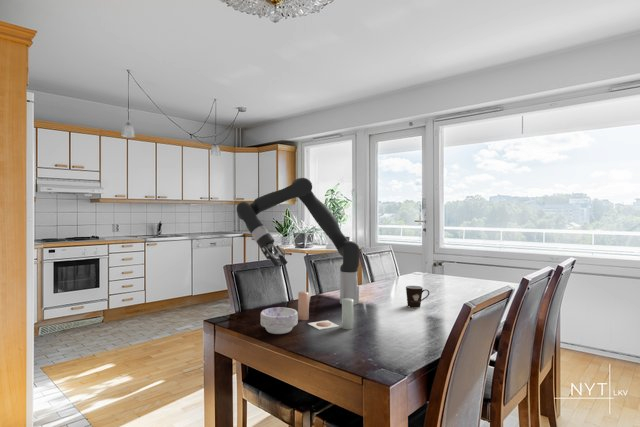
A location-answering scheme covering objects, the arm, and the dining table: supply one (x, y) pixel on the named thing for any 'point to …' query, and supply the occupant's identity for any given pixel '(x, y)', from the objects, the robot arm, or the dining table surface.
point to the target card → (323, 325)
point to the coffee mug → (415, 295)
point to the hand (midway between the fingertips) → (281, 264)
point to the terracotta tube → (303, 305)
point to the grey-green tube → (347, 313)
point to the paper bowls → (279, 319)
